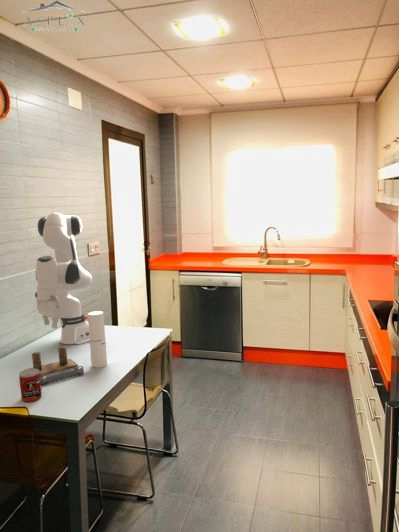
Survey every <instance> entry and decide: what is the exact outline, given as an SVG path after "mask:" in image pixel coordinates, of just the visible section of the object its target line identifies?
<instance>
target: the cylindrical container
mask: <svg viewBox="0 0 399 532" xmlns="http://www.w3.org/2000/svg"><path fill="white" fill-rule="evenodd" d="M87 316H88V319H87V322H88V324H89V337H90V341H89V347H90V349H89V350H90V361H91V367H93V368H103V367H105V366H107V365H108V360H107V359H108V358H107V357H108V356H107V345H106V342H107V341H106V330H105V318H104V317H105V316H104V311H101V310H96V311H91V312H88V313H87Z"/></svg>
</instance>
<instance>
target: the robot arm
mask: <svg viewBox="0 0 399 532" xmlns="http://www.w3.org/2000/svg"><path fill="white" fill-rule="evenodd" d="M82 229H83V221H82V220H81V218H80V217H79V215H74V214H72V215H66V214H62V213H59V212H52V213H50V214H48V216H44V217H40V218H39V219H38V221H37V231H38V233H39V235H40V236H41V237H42V240H43V243H44V244H45V245H46V246H47V247H49V249H52V250H54V256H55V257H54V256H50V255H46V256H45V255H44V256H41V257H38V258H37V259H36V266H35V279H36V281H37V287H36V292H35V293H34V297H35V298H36V308H37V312H38V314H41V315H42V319H43V324H44V325H45V326H49V325H50V319H52V320H51V321H52V324H51V328H52V329H58V322H59V320H60V327H61V332H60V333H61V335H60V341H59V342H60V343H61V344H64V345H82V344H84V343H88V342H89V343H90V337H89V324H88V314H87V315H86V314H82V304H81V301H80V299H79V298H77V297H74V296H73V295H71V293H70V292H81V291H82V292H83V291H85V290H86V291H87V290H90V289H91V287H92V285H93V276H92V274H91V273H90V272H89V271H87V270H85V269H84V268H83V266H82V265H81V264H80V261H79V260H78V254H77V248H76V240H75V237H77V236H79V235H80V234H81V233H82ZM49 318H50V319H49Z"/></svg>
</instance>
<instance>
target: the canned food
mask: <svg viewBox="0 0 399 532" xmlns="http://www.w3.org/2000/svg"><path fill="white" fill-rule="evenodd" d="M30 368H31V369H29V368H26V370H25V369H23V370H21V371H20V372H19V373H18V379H19V380H18V381H19V388H20V397H21V401H22V402H24V403H33V402H36V401H39V400H41V398H42V395H43V394H42V393H43V392H42V386H41V381H40V371H39V369H35V368H33V367H30Z"/></svg>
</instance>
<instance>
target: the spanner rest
mask: <svg viewBox="0 0 399 532" xmlns="http://www.w3.org/2000/svg"><path fill="white" fill-rule="evenodd" d="M57 348H58V350H57V351H58V361H55V362H51V363H45V364H42V357H41V352H39V351H37V352H33V353H31V356H32V367H30V368H28V369H31V368H35V369H39V371H40V376H41V375H47V374H51V373H55V372H59V371H63V370H66V369H70V368H74V367H76V366H79V364H78V363H77V362H76V361H74V360H73V359H72V358H68V350H67V346H64V345H63V346H59V347H57ZM26 369H27V368H26ZM26 369H24V370H26Z"/></svg>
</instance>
